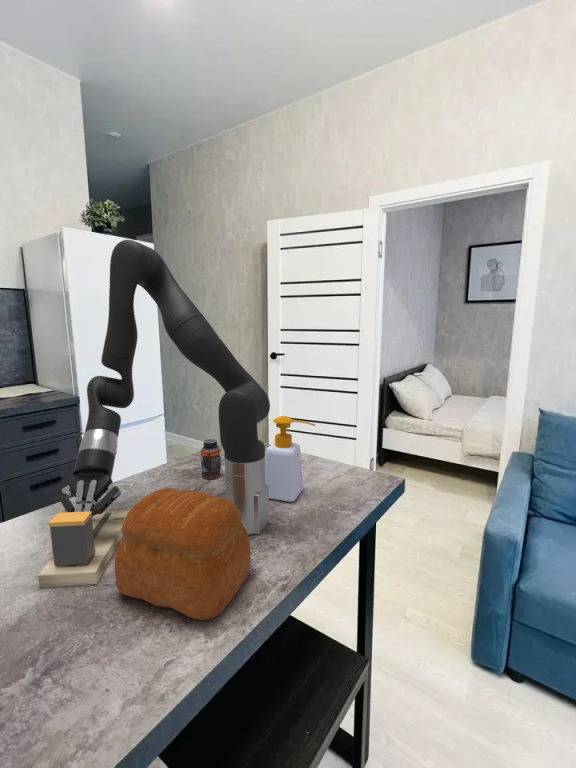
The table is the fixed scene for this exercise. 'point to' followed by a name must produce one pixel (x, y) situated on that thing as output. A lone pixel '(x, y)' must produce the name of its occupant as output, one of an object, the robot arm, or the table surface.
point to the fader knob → (72, 538)
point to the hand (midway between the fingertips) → (79, 535)
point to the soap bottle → (284, 464)
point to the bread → (183, 552)
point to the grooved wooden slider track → (105, 542)
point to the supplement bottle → (211, 459)
